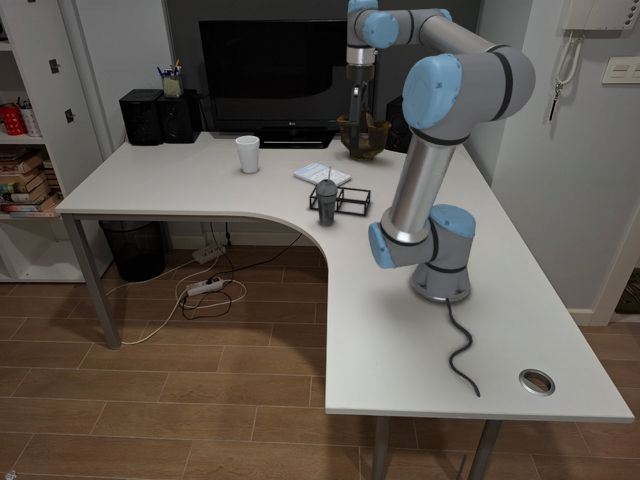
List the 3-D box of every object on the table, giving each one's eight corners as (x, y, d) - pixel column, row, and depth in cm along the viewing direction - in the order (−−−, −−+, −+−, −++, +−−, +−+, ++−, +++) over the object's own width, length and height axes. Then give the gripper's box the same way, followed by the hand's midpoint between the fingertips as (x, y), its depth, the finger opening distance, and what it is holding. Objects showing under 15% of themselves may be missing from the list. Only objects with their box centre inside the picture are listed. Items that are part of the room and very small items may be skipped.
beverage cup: (312, 219, 151) (311, 165, 140) (331, 214, 154) (332, 161, 143) (321, 229, 146) (321, 173, 134) (341, 224, 148) (342, 169, 137)
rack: (365, 216, 153) (366, 203, 150) (309, 209, 157) (309, 196, 154) (370, 202, 161) (370, 190, 158) (316, 196, 165) (316, 184, 162)
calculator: (330, 190, 169) (330, 186, 168) (292, 176, 180) (292, 171, 178) (351, 179, 177) (352, 175, 176) (314, 165, 188) (314, 161, 187)
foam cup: (263, 172, 182) (261, 142, 175) (241, 176, 180) (238, 145, 172) (257, 163, 190) (255, 134, 183) (236, 167, 187) (233, 137, 180)
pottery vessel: (392, 160, 193) (397, 115, 182) (380, 168, 185) (384, 122, 174) (345, 147, 205) (346, 104, 194) (331, 155, 198) (332, 110, 187)
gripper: (368, 74, 108) (364, 156, 119) (379, 55, 128) (375, 127, 140) (338, 73, 109) (337, 154, 121) (354, 54, 130) (351, 125, 141)
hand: (357, 140), depth 130 cm, fingers open, 13 cm apart
